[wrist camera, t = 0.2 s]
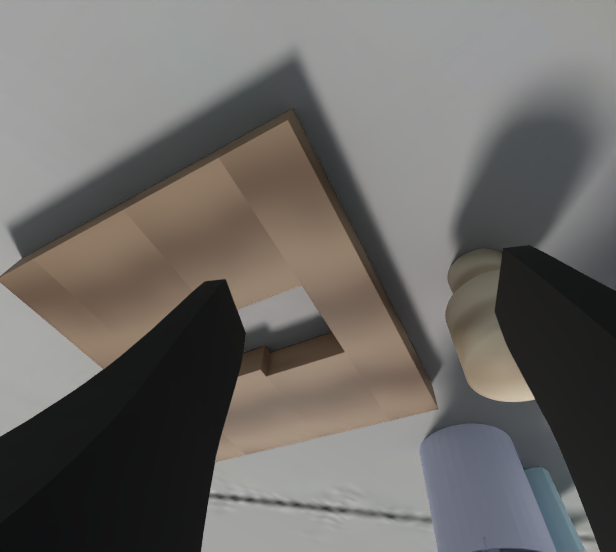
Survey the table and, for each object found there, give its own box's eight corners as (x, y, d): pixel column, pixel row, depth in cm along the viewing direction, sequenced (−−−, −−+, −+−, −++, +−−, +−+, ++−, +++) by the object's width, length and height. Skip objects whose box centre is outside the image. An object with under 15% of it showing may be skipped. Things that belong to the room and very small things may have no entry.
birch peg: (532, 290, 21) (597, 385, 16) (446, 316, 23) (480, 412, 17) (516, 220, 19) (586, 305, 14) (421, 256, 20) (451, 344, 15)
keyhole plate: (431, 384, 26) (438, 409, 25) (220, 439, 32) (214, 462, 30) (292, 108, 16) (287, 120, 15) (21, 258, 22) (-4, 279, 20)
